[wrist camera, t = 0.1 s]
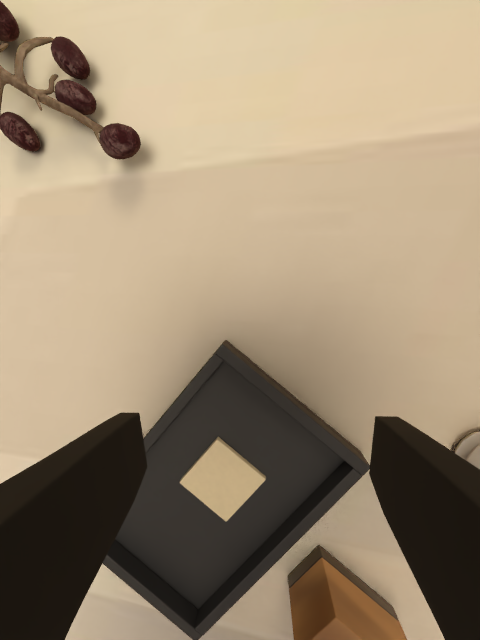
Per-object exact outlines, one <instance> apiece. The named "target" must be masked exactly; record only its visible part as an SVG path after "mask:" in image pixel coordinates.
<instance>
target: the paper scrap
mask: <svg viewBox="0 0 480 640" xmlns="http://www.w3.org/2000/svg"><path fill="white" fill-rule="evenodd" d="M265 480H266V476H265V475H264V474H262V473H261V472H260V471H259V470H258V469H256V468H255V467H254V466H253V465H252V464H250V463H249V462H248V461H247V460H246V459H244V458H243V457H242V456H241V455H240V454H238V453H237V452H236V451H235V450H234V449H233V448H231V447H230V446H229V445H228V444H227V443H225V442H224V441H223V440H222V439H221V438H219V437H217V438H216V439H215V441H214V442H213V443H212V444H211V445H210V446H209V447H208V449H207V450H206V451H205V452H204V453H203V454H202V455H201V456H200V458H199V459H198V460H197V461H196V462H195V463H194V464H193V466H192V467H191V468H190V469H189V470H188V471H187V472H186V474H185V475H184V476H183V477H182V478H181V480H180V482H179V483H180V484H182V485H183V486H184V487H185V488H186V489H187V490H189V491H190V492H191V493H192V494H193V495H195V496H196V497H197V498H198V499H199V500H201V501H202V502H203V503H204V504H205V505H207V506H208V507H209V508H210V509H211V510H213V511H214V512H215V513H216V514H217V515H219V516H220V517H221V518H222V519H223V520H224V521H226V522H227V521H228V520H229V518H230V517H231V516H232V515H233V514H234V513H235V512H236V511H237V510H238V509H239V508H240V507H241V506H242V505H243V504H244V502H245V501H246V500H247V499H248V498H249V497H250V496H251V495H252V494H253V493H254V492H255V491H256V490H257V489H258V488H259V486H260V485H261V484H262V483H263V482H264V481H265Z"/></svg>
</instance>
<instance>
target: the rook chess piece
mask: <svg viewBox="0 0 480 640" xmlns="http://www.w3.org/2000/svg"><path fill="white" fill-rule="evenodd" d="M455 454H457V455H458V456H460V457H461V458H463V459H465V460H466V461H468V462H469V463H471V464H472V465H474V466H476V467H477V468H479V469H480V431H479V432H474V433H471V434H469V435H468V436H466V437H465V438H463V439H462V440H461V441H460V443H459V444H458V445H457V447H456V448H455Z"/></svg>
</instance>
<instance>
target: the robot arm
mask: <svg viewBox="0 0 480 640" xmlns="http://www.w3.org/2000/svg"><path fill="white" fill-rule="evenodd" d="M147 467H148V466H147V460H146V453H145V447H144V441H143V434H142V428H141V422H140V415H139V413H119V414H118V415H116V416H114V417H112V418H110V419H108V420H107V421H105V422H103V423H102V424H100V425H98V426H97V427H95V428H93V429H92V430H90V431H88V432H87V433H85V434H84V435H82V436H80V437H79V438H77V439H75V440H74V441H72V442H70V443H69V444H67V445H66V446H64V447H62V448H61V449H59V450H57V451H56V452H54V453H53V454H51V455H49V456H48V457H46V458H44V459H43V460H41V461H39V462H37V463H36V464H34V465H32V466H30V467H29V468H27V469H25V470H24V471H22V472H20V473H18V474H17V475H15V476H13V477H11V478H10V479H8V480H6V481H5V482H3V483H1V484H0V640H65V638H66V635H67V633H68V631H69V629H70V626H71V624H72V622H73V620H74V618H75V616H76V614H77V612H78V610H79V608H80V606H81V604H82V602H83V600H84V598H85V596H86V594H87V592H88V590H89V588H90V586H91V584H92V582H93V580H94V578H95V576H96V574H97V573H98V571H99V569H100V567H101V565H102V563H103V561H104V559H105V557H106V555H107V553H108V551H109V549H110V548H111V546H112V544H113V542H114V540H115V538H116V536H117V534H118V532H119V530H120V528H121V526H122V524H123V522H124V520H125V519H126V517H127V515H128V513H129V511H130V509H131V507H132V505H133V503H134V500H135V498H136V495H137V493H138V490H139V488H140V485H141V483H142V480H143V477H144V475H145V472H146V469H147ZM369 474H370V477H371V480H372V483H373V486H374V489H375V491H376V494H377V497H378V500H379V502H380V505H381V508H382V510H383V513H384V515H385V517H386V519H387V521H388V523H389V525H390V528H391V530H392V532H393V534H394V536H395V538H396V540H397V542H398V544H399V546H400V548H401V550H402V552H403V554H404V556H405V558H406V560H407V562H408V564H409V567H410V569H411V571H412V573H413V575H414V577H415V579H416V581H417V583H418V585H419V587H420V589H421V591H422V593H423V595H424V597H425V599H426V601H427V603H428V605H429V607H430V609H431V611H432V613H433V615H434V617H435V619H436V621H437V623H438V625H439V628H440V630H441V632H442V634H443V636H444V638H445V640H480V469H479V468H477V467H476V466H474V465H472V464H471V463H469V462H468V461H466V460H465V459H463V458H461V457H460V456H458V455H457V454H455V453H454V452H452V451H451V450H449V449H448V448H446V447H445V446H443V445H442V444H440V443H438V442H437V441H435V440H434V439H432V438H431V437H429V436H428V435H426V434H425V433H423V432H422V431H420V430H418V429H417V428H415V427H414V426H412V425H411V424H409V423H407V422H406V421H404V420H402V419H400V418H399V417H383V416H375V424H374V434H373V443H372V453H371V462H370V472H369Z"/></svg>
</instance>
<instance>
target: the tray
mask: <svg viewBox="0 0 480 640" xmlns="http://www.w3.org/2000/svg"><path fill="white" fill-rule="evenodd" d="M217 437H219V438H221V439H222V440H223V441H224V442H225V443H227V444H228V445H229V446H230V447H231V448H233V449H234V450H235V451H236V452H237V453H238V454H240V455H241V456H242V457H243V458H244V459H246V460H247V461H248V462H249V463H250V464H252V465H253V466H254V467H255V468H256V469H258V470H259V471H260V472H261V473H262V474H264V475H265V476H266V480H265V481H264V482H263V483H262V484H261V485H260V486H259V488H258V489H257V490H256V491H255V492H254V493H253V494H252V495H251V496H250V497H249V498H248V499H247V500H246V501H245V502H244V504H243V505H242V506H241V507H240V508H239V509H238V510H237V511H236V512H235V513H234V514H233V515H232V516H231V517H230V518H229V520H228V521H227V522H226V521H224V520H223V519H222V518H221V517H220V516H219V515H217V514H216V513H215V512H214V511H213V510H211V509H210V508H209V507H208V506H207V505H205V504H204V503H203V502H202V501H201V500H199V499H198V498H197V497H196V496H195V495H193V494H192V493H191V492H190V491H189V490H187V489H186V488H185V487H184V486H183V485H182V484H180V483H179V482H180V480H181V478H182V477H183V476H184V475H185V474H186V472H187V471H188V470H189V469H190V468H191V467H192V466H193V464H194V463H195V462H196V461H197V460H198V459H199V458H200V456H201V455H202V454H203V453H204V452H205V451H206V450H207V449H208V447H209V446H210V445H211V444H212V443H213V442H214V441H215V439H216V438H217ZM143 441H144V447H145V453H146V460H147V466H148V467H147V469H146V472H145V475H144V477H143V480H142V483H141V485H140V488H139V490H138V493H137V495H136V498H135V500H134V503H133V505H132V507H131V509H130V511H129V513H128V515H127V517H126V519H125V520H124V522H123V524H122V526H121V528H120V530H119V532H118V534H117V536H116V538H115V540H114V542H113V544H112V546H111V548H110V549H109V551H108V553H107V555H106V557H105V559H104V561H103V564H104V565H105V566H106V567H107V568H109V569H110V570H111V571H112V572H113V573H115V574H116V575H117V576H118V577H119V578H121V579H122V580H123V581H124V582H125V583H126V584H128V585H129V586H130V587H131V588H132V589H134V590H135V591H136V592H137V593H138V594H140V595H141V596H142V597H143V598H144V599H145V600H147V601H148V602H149V603H150V604H151V605H153V606H154V607H155V608H156V609H157V610H158V611H160V612H161V613H162V614H163V615H164V616H166V617H167V618H168V619H169V620H170V621H172V622H173V623H174V624H175V625H176V626H177V627H179V628H180V629H181V630H182V631H183V632H185V633H186V634H187V635H188V636H189V637H191V638H192V639H193V640H199V639H200V638H201V637H202V635H204V634H205V633H206V632H207V631H208V630H209V629H210V628H211V627H212V626H213V625H214V624H215V623H216V622H217V621H218V620H219V619H220V618H221V617H222V616H223V615H224V614H225V613H226V612H227V611H228V610H229V609H230V608H231V607H232V606H233V605H234V604H235V603H236V602H237V601H238V600H239V599H240V598H241V597H242V596H243V595H244V594H245V593H246V592H247V591H248V590H249V589H250V588H251V587H252V586H253V585H254V584H255V583H256V582H257V581H258V580H259V579H260V578H261V577H262V576H263V575H264V574H265V573H266V572H267V571H268V570H269V569H270V568H271V567H272V566H273V565H274V564H275V563H276V562H277V561H278V560H279V559H280V558H281V557H282V556H283V555H284V554H285V553H286V552H287V551H288V550H289V549H290V548H291V547H292V546H293V545H294V544H295V543H296V542H297V541H298V540H299V539H300V538H301V537H302V536H303V535H304V534H305V533H306V532H307V531H308V530H309V529H310V528H311V527H312V526H313V525H314V524H315V523H316V522H317V521H318V520H319V519H320V518H321V517H322V516H323V515H324V514H325V513H326V512H327V511H328V510H329V509H330V508H331V507H332V506H333V505H334V504H335V503H336V502H337V501H338V500H339V499H340V498H341V497H342V496H343V495H344V494H345V493H346V492H347V491H348V490H349V489H350V488H351V487H352V486H353V485H354V484H355V483H356V482H357V481H358V480H359V479H360V478H361V477H362V475H364V474H365V473H366V472H367V471H368V470H369V469H370V465H369V464H368V462H367V461H366V459H365V458H364V456H363V454H362V453H361V452H360V451H359V450H358V449H357V448H355V447H354V446H353V445H352V444H351V443H349V442H348V441H347V440H346V439H345V438H343V437H342V436H341V435H340V434H339V433H337V432H336V431H335V430H334V429H333V428H331V427H330V426H329V425H328V424H327V423H325V422H324V421H323V420H322V419H321V418H319V417H318V416H317V415H316V414H315V413H313V412H312V411H311V410H310V409H309V408H307V407H306V406H305V405H304V404H303V403H301V402H300V401H299V400H298V399H297V398H295V397H294V396H293V395H292V394H291V393H289V392H288V391H287V390H286V389H285V388H283V387H282V386H281V385H280V384H279V383H277V382H276V381H275V380H274V379H273V378H271V377H270V376H269V375H268V374H267V373H265V372H264V371H263V370H262V369H261V368H259V367H258V366H257V365H256V364H255V363H253V362H252V361H251V360H250V359H249V358H247V357H246V356H245V355H244V354H242V353H241V352H240V351H239V350H238V349H236V348H235V347H234V346H233V345H232V344H230V343H229V342H228V341H227V340H225V341H224V342H223V344H222V345H221V346H220V347H219V348H218V350H217V351H216V352H215V353H214V354H213V356H212V357H211V358H210V359H209V360H208V362H207V363H206V364H205V365H204V366H203V368H202V369H201V370H200V371H199V372H198V374H197V375H196V376H195V377H194V378H193V380H192V381H191V382H190V383H189V384H188V386H187V387H186V388H185V389H184V390H183V392H182V393H181V394H180V395H179V397H178V398H177V399H176V400H175V401H174V403H173V404H172V405H171V406H170V407H169V409H168V410H167V411H166V412H165V413H164V415H163V416H162V417H161V418H160V419H159V421H158V422H157V423H156V424H155V425H154V427H153V428H152V429H151V430H150V431H149V433H148V434H147V435H146V436H145V437H144V439H143Z"/></svg>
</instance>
